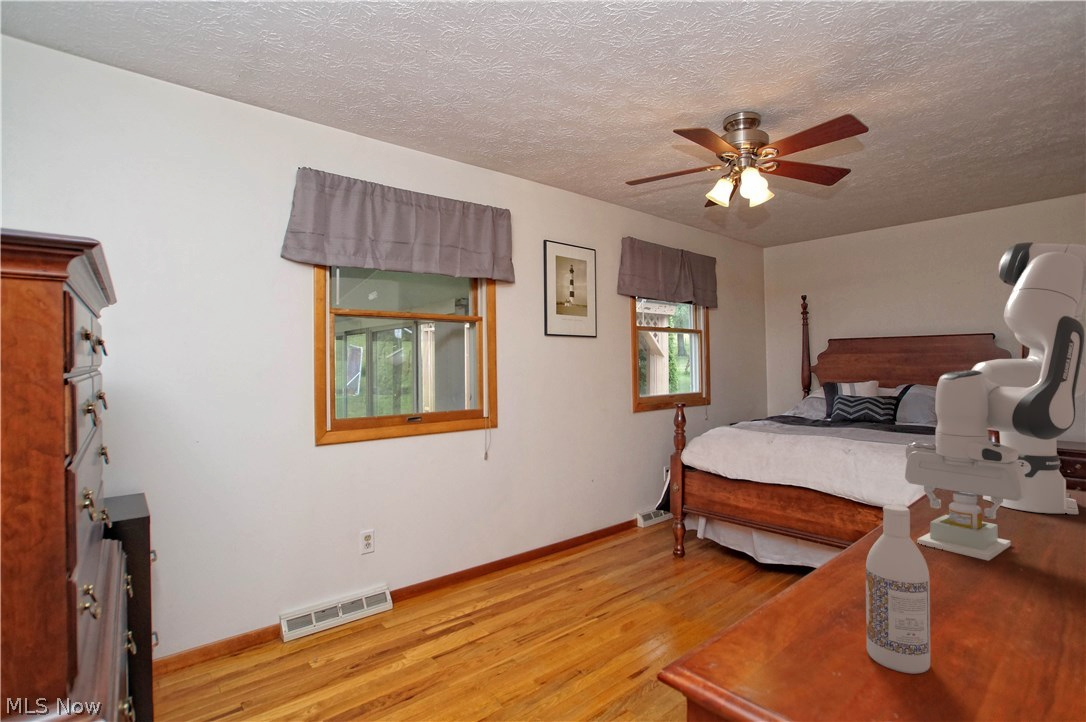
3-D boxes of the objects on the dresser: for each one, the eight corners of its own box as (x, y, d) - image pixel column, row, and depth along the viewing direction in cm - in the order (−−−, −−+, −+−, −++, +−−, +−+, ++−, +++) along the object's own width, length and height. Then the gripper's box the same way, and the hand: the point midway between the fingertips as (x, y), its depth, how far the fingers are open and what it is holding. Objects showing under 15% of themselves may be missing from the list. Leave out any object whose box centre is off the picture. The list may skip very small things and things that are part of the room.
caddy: (942, 530, 120) (942, 511, 120) (1010, 545, 111) (1010, 524, 111) (917, 543, 112) (917, 522, 112) (988, 560, 102) (988, 537, 102)
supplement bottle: (969, 536, 114) (969, 491, 114) (988, 545, 108) (988, 497, 108) (943, 536, 114) (942, 491, 114) (961, 544, 109) (960, 497, 109)
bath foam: (871, 640, 74) (869, 497, 74) (932, 657, 70) (931, 506, 70) (862, 662, 69) (860, 508, 69) (928, 682, 64) (926, 518, 64)
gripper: (899, 442, 118) (900, 504, 118) (1019, 456, 102) (1019, 527, 102) (911, 440, 122) (911, 499, 122) (1029, 452, 105) (1029, 521, 105)
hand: (961, 512), depth 112 cm, fingers open, 8 cm apart
